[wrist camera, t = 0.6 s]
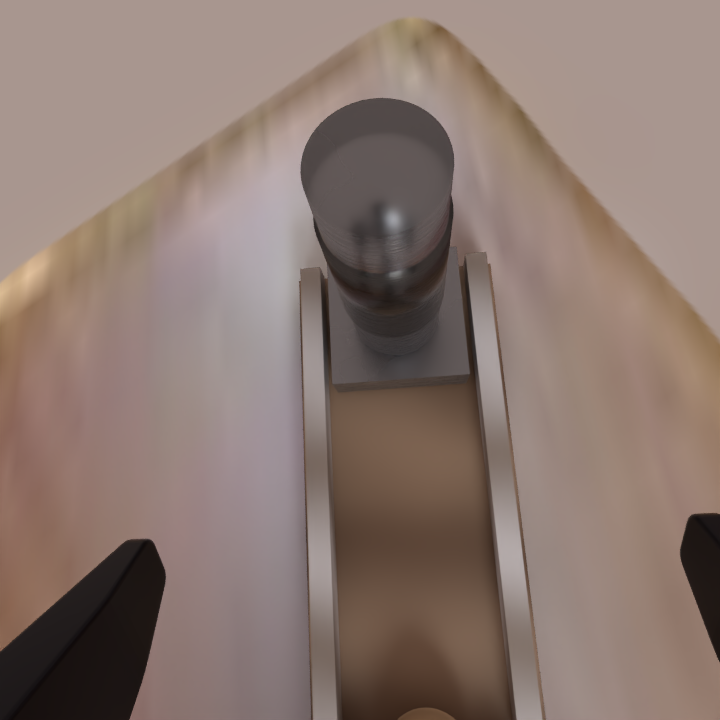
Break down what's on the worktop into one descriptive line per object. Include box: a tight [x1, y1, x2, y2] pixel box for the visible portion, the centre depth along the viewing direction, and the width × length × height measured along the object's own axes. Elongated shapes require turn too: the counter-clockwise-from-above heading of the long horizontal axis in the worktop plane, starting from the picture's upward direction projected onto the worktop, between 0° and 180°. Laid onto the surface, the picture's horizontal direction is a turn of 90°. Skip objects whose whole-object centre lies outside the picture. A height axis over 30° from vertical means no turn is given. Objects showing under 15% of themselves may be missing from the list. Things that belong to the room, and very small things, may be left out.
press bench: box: [299, 252, 546, 720], centre depth 20 cm, size 23×8×4 cm, turn 3°
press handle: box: [301, 98, 470, 393], centre depth 17 cm, size 5×5×11 cm
